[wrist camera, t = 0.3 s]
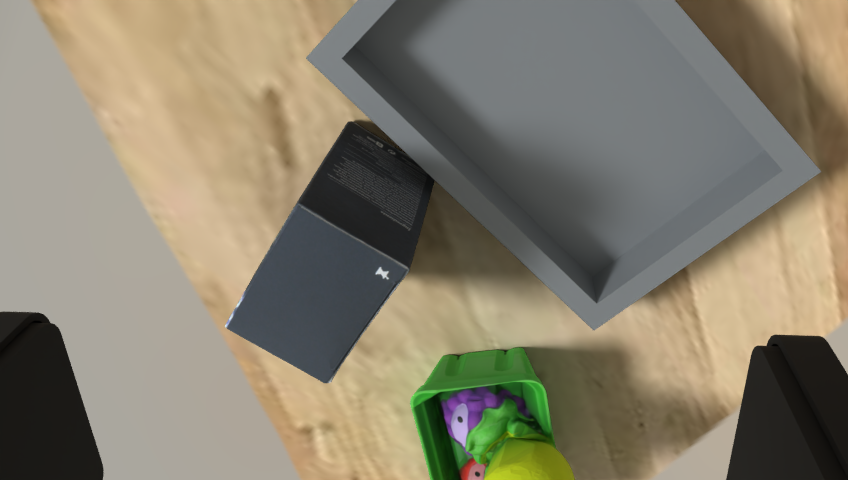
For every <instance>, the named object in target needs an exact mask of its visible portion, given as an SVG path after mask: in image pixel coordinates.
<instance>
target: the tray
mask: <svg viewBox="0 0 848 480" xmlns="http://www.w3.org/2000/svg"><path fill="white" fill-rule="evenodd" d="M306 59H307V60H308V61H309V62H310V63H311V64H313V65H314V66H315V67H316V68H317V69H318V70H319V71H320V72H321V73H322V74H323V75H324V76H325V77H326V78H327V79H328V80H329V81H330V82H332V83H333V84H334V85H335V86H336V87H337V88H338V89H339V90H340V91H341V92H342V93H343V94H344V95H345V96H346V97H347V98H348V99H350V100H351V101H352V102H353V103H354V104H355V105H356V106H357V107H358V108H359V109H360V110H361V111H362V112H363V113H364V114H365V115H366V116H367V117H369V118H370V119H371V120H372V121H373V122H374V123H375V124H376V125H377V126H378V127H379V128H380V129H381V130H382V131H383V132H384V133H385V134H387V135H388V136H389V137H390V138H391V139H392V140H393V141H394V142H395V143H396V144H397V145H398V146H399V147H400V148H401V149H402V150H403V151H405V152H406V153H407V154H408V155H409V156H410V157H411V158H412V159H413V160H414V161H415V162H416V163H417V164H418V165H419V166H420V167H421V168H422V169H424V170H425V171H426V172H427V173H428V174H429V175H430V176H431V177H432V178H433V179H434V180H435V181H436V182H437V183H438V184H439V185H440V186H442V187H443V188H444V189H445V190H446V191H447V192H448V193H449V194H450V195H451V196H452V197H453V198H454V199H455V200H456V201H457V202H458V203H459V204H461V205H462V206H463V207H464V208H465V209H466V210H467V211H468V212H469V213H470V214H471V215H472V216H473V217H474V218H475V219H476V220H477V221H479V222H480V223H481V224H482V225H483V226H484V227H485V228H486V229H487V230H488V231H489V232H490V233H491V234H492V235H493V236H494V237H495V238H496V239H498V240H499V241H500V242H501V243H502V244H503V245H504V246H505V247H506V248H507V249H508V250H509V251H510V252H511V253H512V254H513V255H514V256H516V257H517V258H518V259H519V260H520V261H521V262H522V263H523V264H524V265H525V266H526V267H527V268H528V269H529V270H530V271H531V272H532V273H533V274H535V275H536V276H537V277H538V278H539V279H540V280H541V281H542V282H543V283H544V284H545V285H546V286H547V287H548V288H549V289H550V290H551V291H553V292H554V293H555V294H556V295H557V296H558V297H559V298H560V299H561V300H562V301H563V302H564V303H565V304H566V305H567V306H568V307H569V308H570V309H572V310H573V311H574V312H575V313H576V314H577V315H578V316H579V317H580V318H581V319H582V320H583V321H584V322H585V323H586V324H587V325H588V326H590V327H591V328H592V329H593V330H595V329H597V328H598V327H600V326H601V325H603V324H604V323H605V322H607V321H608V320H610V319H611V318H613V317H614V316H615V315H617V314H618V313H620V312H621V311H623V310H624V309H625V308H627V307H628V306H630V305H631V304H633V303H634V302H636V301H637V300H638V299H640V298H641V297H643V296H644V295H646V294H647V293H648V292H650V291H651V290H653V289H654V288H656V287H657V286H658V285H660V284H661V283H663V282H664V281H666V280H667V279H668V278H670V277H671V276H673V275H674V274H676V273H677V272H678V271H680V270H681V269H683V268H684V267H686V266H687V265H688V264H690V263H691V262H693V261H694V260H696V259H697V258H698V257H700V256H701V255H703V254H704V253H706V252H707V251H708V250H710V249H711V248H713V247H714V246H716V245H717V244H719V243H720V242H721V241H723V240H724V239H726V238H727V237H729V236H730V235H731V234H733V233H734V232H736V231H737V230H739V229H740V228H741V227H743V226H744V225H746V224H747V223H749V222H750V221H751V220H753V219H754V218H756V217H757V216H759V215H760V214H761V213H763V212H764V211H766V210H767V209H769V208H770V207H771V206H773V205H774V204H776V203H777V202H779V201H780V200H781V199H783V198H784V197H786V196H787V195H789V194H790V193H792V192H793V191H794V190H796V189H797V188H799V187H800V186H802V185H803V184H804V183H806V182H807V181H809V180H810V179H812V178H813V177H814V176H816V175H817V174H819V173H820V172H821V171H820V170H819V168H818V167H817V166H816V165H815V164H814V162H813V161H812V160H811V159H810V158H809V157H808V155H807V154H806V153H805V152H804V151H803V150H802V148H801V147H800V146H799V145H798V144H797V143H796V141H795V140H794V139H793V138H792V137H791V136H790V134H789V133H788V132H787V131H786V130H785V129H784V127H783V126H782V125H781V124H780V123H779V122H778V120H777V119H776V118H775V117H774V116H773V115H772V113H771V112H770V111H769V110H768V109H767V108H766V106H765V105H764V104H763V103H762V102H761V100H760V99H759V98H758V97H757V96H756V95H755V93H754V92H753V91H752V90H751V89H750V88H749V86H748V85H747V84H746V83H745V82H744V81H743V79H742V78H741V77H740V76H739V75H738V74H737V72H736V71H735V70H734V69H733V68H732V67H731V65H730V64H729V63H728V62H727V61H726V60H725V58H724V57H723V56H722V55H721V54H720V53H719V51H718V50H717V49H716V48H715V47H714V46H713V44H712V43H711V42H710V41H709V40H708V38H707V37H706V36H705V35H704V34H703V33H702V31H701V30H700V29H699V28H698V27H697V26H696V24H695V23H694V22H693V21H692V20H691V19H690V17H689V16H688V15H687V14H686V13H685V12H684V10H683V9H682V8H681V7H680V6H679V5H678V3H677V2H676V1H675V0H358V1H357V2H356V3H355V4H354V5H353V6H352V7H351V9H350V10H349V11H348V12H347V13H346V14H345V15H344V16H343V17H342V19H341V20H340V21H339V22H338V23H337V24H336V25H335V26H334V27H333V28H332V30H331V31H330V32H329V33H328V34H327V35H326V36H325V37H324V38H323V40H322V41H321V42H320V43H319V44H318V45H317V46H316V47H315V48H314V50H313V51H312V52H311V53H310V54H309V55H308V56H307V57H306Z"/></svg>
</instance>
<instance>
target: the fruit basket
mask: <svg viewBox="0 0 848 480" xmlns="http://www.w3.org/2000/svg"><path fill="white" fill-rule="evenodd" d="M410 405H411V409H412V412H413V416H414V419H415V423H416V426H417V430H418V434H419V437H420V440H421V444H422V448H423V452H424V455H425V460H426V464H427V467H428V471H429V475H430V479H431V480H575V478H574V475H573V472H572V470H571V467H570V465H569V464H568V462H567V460H566V459H565V458H564V457H563V455H562V454H561V453H560V452H559V451H558V450H556V447H555V442H554V436H553V429H552V424H551V418H550V412H549V405H548V399H547V393H546V390H545V388H544V386H543V384H542V382H541V381H540V380H539V378H537V376H536V374H535V372H534V370H533V368H532V366H531V363H530V361H529V359H528V357H527V355H526V353H525V351H524V349H523V348H520V347H519V348H513V349H510V350H507V352H504V351H501V350H490V351H481V352H472V353H466V354H464V355H461V356H460V357H458V356H454V355H445V356H443V357H442V358H441V359H440V361H439V362H438V364H437V365H436V367H435V369H434V370H433V372H432V373H431V375H430V376H429V378H428V379H427V381H426V382H425V384H424V385H423V386H421V387H420V388H419V389H418V390H417V391H416V392H415V394H414V395H413V396H412V398H411V401H410Z"/></svg>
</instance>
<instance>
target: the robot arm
mask: <svg viewBox="0 0 848 480" xmlns="http://www.w3.org/2000/svg"><path fill="white" fill-rule="evenodd" d="M0 480H103V464H102V461H101V458H100V455H99V452H98V448H97V446H96V442H95V439H94V436H93V433H92V430H91V426H90V423H89V420H88V417H87V414H86V411H85V407H84V404H83V401H82V398H81V395H80V392H79V389H78V386H77V382H76V379H75V376H74V373H73V370H72V367H71V363H70V360H69V357H68V354H67V351H66V348H65V344H64V341H63V338H62V335H61V332H60V330H59V328H58V327H57V326H56V325H55V324H51V323H50V322H49V320H48V318H47V317H46V316H45V315H43V314H41V313H32V312H0ZM726 480H848V374H847V373H846V371H845V369H844V368H843V366H842V365H841V363H840V361H839V360H838V358H837V356H836V355H835V353H834V352H833V350H832V349H831V347H830V345H829V344H828V342H827V341H826V340H825V339H824V338H823V337H820V336H799V335H773V336H771V337H770V339H769V341H768V343H767V346H756V347H755V348H754V349H753V351H752V355H751V359H750V364H749V369H748V374H747V379H746V384H745V389H744V394H743V399H742V404H741V409H740V414H739V419H738V424H737V429H736V434H735V439H734V444H733V449H732V454H731V459H730V464H729V469H728V474H727V479H726Z"/></svg>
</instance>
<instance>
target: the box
mask: <svg viewBox="0 0 848 480" xmlns="http://www.w3.org/2000/svg"><path fill="white" fill-rule="evenodd" d="M434 181H435V180H434V179H433V178H432V177H431V176H430V175H429V174H428V173H427V172H426V171H425V170H424V169H422V168H421V167H420V166H419V165H418V164H417V163H416V162H415V161H414V160H413V159H412V158H411V157H409V156H408V155H406V154H405V153H403V152H401V151H400V150H398V149H396V148H395V147H393V146H392V145H390V144H389V143H387V142H385V141H384V140H382V139H380V138H379V137H377V136H375V135H374V134H372V133H371V132H369V131H367V130H366V129H364V128H363V127H361V126H359V125H358V124H357V123H355V122H348V123H347V124H346V125H345V127H344V129H343V130H342V132H341V134H340V135H339V137H338V138H337V140H336V142H335V143H334V145H333V146H332V148H331V149H330V151H329V152H328V154H327V156H326V157H325V159H324V160H323V162H322V164H321V165H320V167H319V168H318V170H317V172H316V173H315V175H314V176H313V178H312V180H311V181H310V183H309V184H308V186H307V188H306V189H305V191H304V192H303V194H302V195H301V197H300V199H299V200H298V202H297V204H296V205H295V207H294V208H293V210H292V211H291V213H290V215H289V216H288V218H287V220H286V221H285V223H284V225H283V226H282V228H281V230H280V232H279V233H278V235H277V236H276V238H275V240H274V242H273V243H272V245H271V247H270V249H269V250H268V252H267V254H266V255H265V257H264V259H263V260H262V262H261V264H260V266H259V267H258V269H257V271H256V272H255V274H254V276H253V278H252V280H251V281H250V283H249V285H248V287H247V288H246V290H245V292H244V294H243V295H242V297H241V299H240V301H239V302H238V304H237V306H236V308H235V309H234V311H233V313H232V314H231V316H230V318H229V320H228V321H227V323H226V328H227V329H229V330H230V331H232V332H234V333H236V334H237V335H239V336H241V337H243V338H244V339H246V340H248V341H250V342H252V343H253V344H255V345H257V346H259V347H261V348H262V349H264V350H266V351H268V352H270V353H271V354H273V355H275V356H277V357H279V358H280V359H282V360H284V361H286V362H288V363H289V364H291V365H293V366H295V367H297V368H299V369H300V370H302V371H304V372H306V373H307V374H309V375H311V376H313V377H315V378H316V379H318V380H320V381H321V382H323V383H330V382H332V380H333V378H334V376H335V374H336V373H337V371H338V369H339V368H340V366H341V365H342V363H343V362H344V360H345V359H346V357H347V356H348V355H349V353H350V352H351V350H352V349H353V347H354V346H355V344H356V343H357V342H358V340H359V339H360V337H361V336H362V334H363V333H364V331H365V330H366V329H367V327H368V326H369V325H370V323H371V322H372V320H373V319H374V318H375V316H376V315H377V314H378V312H379V311H380V309H381V308H382V306H383V305H384V304H385V303H386V301H387V300H388V298H389V297H390V296H391V294H392V293H393V292H394V290H395V289H396V288H397V286H398V285H399V284H400V282H401V281H402V280H403V279H404V278H405V276H406V275H407V274H408V272H409V270H410V266H411V263H412V260H413V256H414V253H415V249H416V245H417V242H418V238H419V235H420V231H421V228H422V224H423V220H424V217H425V213H426V210H427V206H428V202H429V199H430V195H431V192H432V188H433V185H434Z"/></svg>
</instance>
